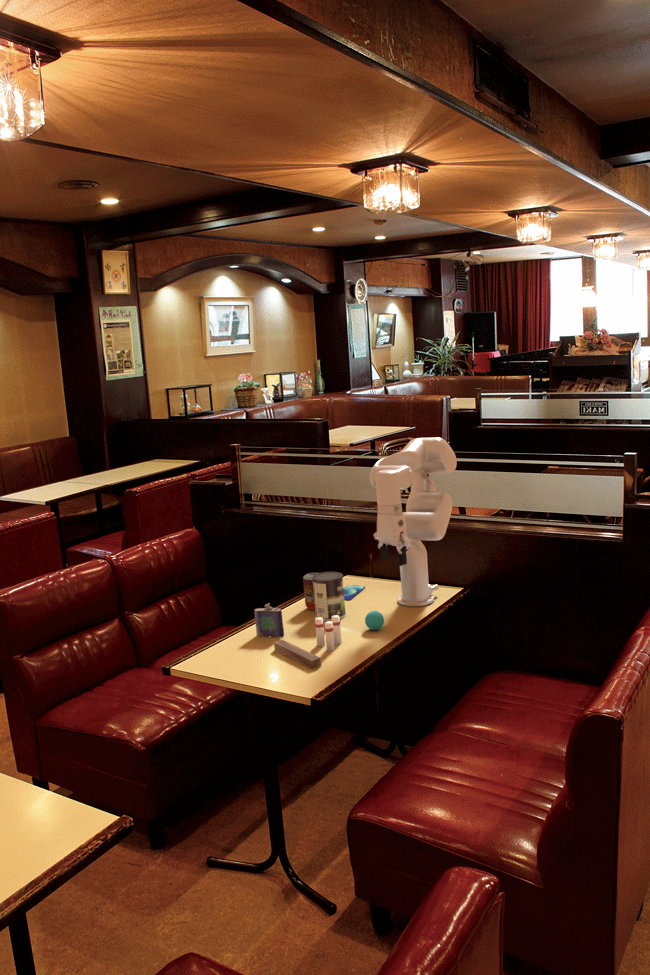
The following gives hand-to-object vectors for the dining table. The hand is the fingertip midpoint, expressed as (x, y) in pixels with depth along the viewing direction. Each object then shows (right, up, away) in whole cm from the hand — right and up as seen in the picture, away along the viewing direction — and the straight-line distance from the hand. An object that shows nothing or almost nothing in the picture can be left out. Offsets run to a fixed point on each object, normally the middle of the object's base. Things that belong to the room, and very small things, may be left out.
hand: (393, 562), depth 239 cm
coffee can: (-20, -20, +14) cm, 31 cm away
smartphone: (-13, -16, +36) cm, 41 cm away
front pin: (-18, -24, -11) cm, 32 cm away
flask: (-39, -24, 0) cm, 46 cm away
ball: (-6, -18, -2) cm, 19 cm away
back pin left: (-20, -25, -15) cm, 35 cm away
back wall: (-30, -26, -19) cm, 44 cm away
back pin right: (-23, -24, -11) cm, 35 cm away
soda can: (-25, -19, +22) cm, 38 cm away
